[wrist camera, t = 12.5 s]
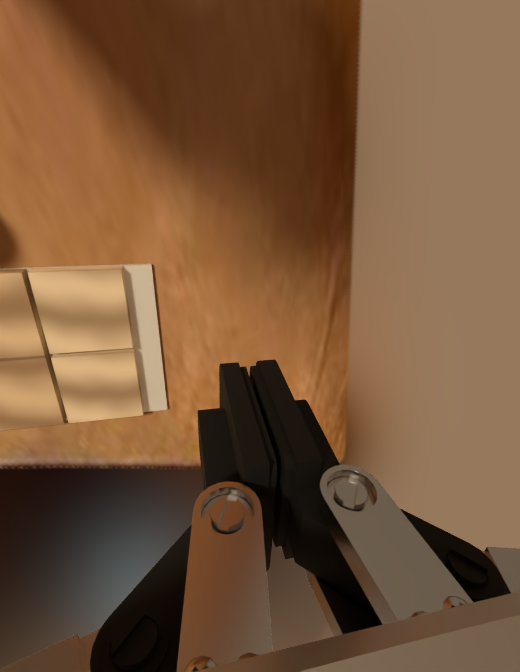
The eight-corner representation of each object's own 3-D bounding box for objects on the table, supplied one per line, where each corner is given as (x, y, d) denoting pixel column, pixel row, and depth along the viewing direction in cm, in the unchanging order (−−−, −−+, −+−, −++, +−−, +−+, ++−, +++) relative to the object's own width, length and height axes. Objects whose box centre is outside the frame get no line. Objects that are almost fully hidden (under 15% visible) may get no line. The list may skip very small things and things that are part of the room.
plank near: (31, 268, 34) (27, 272, 33) (122, 265, 36) (121, 269, 35) (53, 348, 38) (49, 354, 37) (133, 342, 40) (132, 347, 39)
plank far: (54, 352, 39) (50, 358, 38) (134, 346, 40) (133, 352, 39) (71, 416, 43) (68, 423, 42) (143, 408, 44) (143, 415, 43)
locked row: (-74, 272, 33) (-82, 276, 32) (25, 268, 34) (21, 273, 33) (-12, 425, 41) (-17, 432, 40) (66, 416, 42) (63, 424, 41)
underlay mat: (-82, 271, 33) (-85, 272, 33) (151, 263, 37) (151, 264, 36) (-17, 426, 41) (-19, 429, 41) (167, 407, 45) (167, 409, 45)
